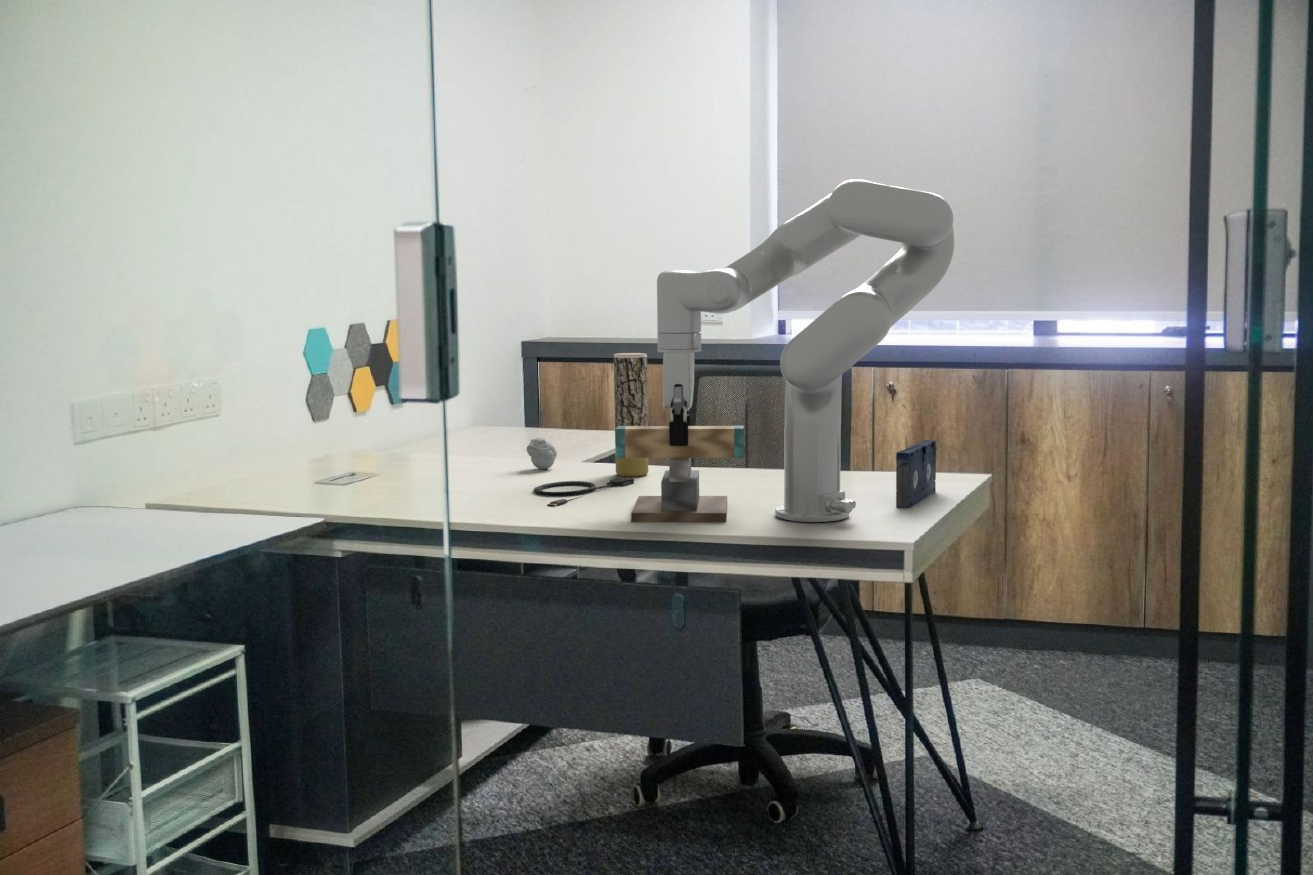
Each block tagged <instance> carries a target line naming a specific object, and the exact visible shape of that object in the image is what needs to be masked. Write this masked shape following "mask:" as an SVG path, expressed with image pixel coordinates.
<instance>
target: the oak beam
mask: <svg viewBox="0 0 1313 875" xmlns="http://www.w3.org/2000/svg"><path fill="white" fill-rule="evenodd" d="M744 429H745V428H744V425H691V426H688V445H687V446H670V445H669V425H648V426H617V428H616V457H615V459H616V458H648V459H664V458H665V459H668V458H669V459H670V458H691V459H694V458H695V459H696V458H697V459H699V458H700V459H701V458H703V459H711V458H712V459H714V458H715V459H716V458H717V459H719V458H720V459H723V458H724V459H725V458H726V459H731V458H732V459H733V458H734V459H744V457H745V455H744V454H745V446H744V445H745V444H744V443H745V439H744V437H745V436H744V434H745V430H744Z"/></svg>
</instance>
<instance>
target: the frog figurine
mask: <svg viewBox="0 0 1313 875" xmlns="http://www.w3.org/2000/svg"><path fill="white" fill-rule="evenodd" d="M556 447H557V446H555V445H554V444H553V443H551V442H549V441H548V440H546V438H544V437H543V436H542V437H541V436H539V437H535V438H531V439H530V442H529V443H528V445H527V446H526V452H527V454H528V455H529V457H530V462H531V463H532V464H533V466H534V467H535V468H537V469H539V470H548V469H550V468H552V466H553V465H554V462H555V461H556V459H557V457H558V455H557V454H558V451H557V449H556Z"/></svg>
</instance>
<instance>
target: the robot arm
mask: <svg viewBox="0 0 1313 875" xmlns="http://www.w3.org/2000/svg"><path fill="white" fill-rule="evenodd" d="M953 225H954V213H953V210H952V208H951V204H950V203H948V201H947V200H946V199H944V198H943V197H942V195H938V194H936V193H933V192H930V191H929V192H928V191H925V190H918V189H912V188H906V187H900V186H895V185H888V184H883V183H877V182H873V181H869V180H865V179H858V178H857V179H856V178H855V179H854V178H852V179H848V180H844V181H843V182H842V183H840V184H838V185H837V186H836V187H835V188H834V190H832V192H831V193H830V194H828V195H827V196H825V197H823V198H822V199H820V200H819V201H818V202H817V201H816V202H815V203H814V204H813V205H810V207H808V208H806V209H804V210H803V211H801V212H800V213H798V214H796V215H795V216H793V217H792V218H790V219H788V220H786V221H784V222H783V223H782V224H780V225H779V226H778V227H777V228H776V229H774V230H773V231H772V233H771V234H770V235H769V236H768V237H767V238H766V239H765V240H764V241H763V242H761V244H759V245H758V246H757V247H755V248H754V249H752V250H751V251H750V252H748V253H746V254H745V255H743V256H742V257H740V258H738V259H737V260H735V261H734V262H732V263H730V264H728V265H726V266H725V267H724V268H717V269H711V270H710V269H709V270H705V271H704V270H703V271H694V270H665V271H661V272H659V274H658V275H657V279H656V311H657V312H656V313H657V314H656V316H657V317H656V320H657V323H656V325H657V326H656V328H657V329H656V331H657V333H656V334H657V335H656V336H657V338H656V339H657V353H663V357H662V359H663V360H662V409H663V410H665V411H667V410H668V409H669V408H670V411H669V412H670V413H669V414H670V415H669V419H670V420H669V422H668V426H669V445H670V446H687V445H688V426H692V425H691V422H692V421H691V418H692V417H691V415H690V409H691V408H692V406H693V402H694V391H695V389H694V388H695V353H700V352H702V312H703V313H711V314H718V315H724V314H729V313H732V312H736V311H738V310H739V309H741V308H743V307H744V306H746V305H747V304H750V303H751V302H752V301H754V300H756V299H757V298H759V297H761V296H762V295H764V294H766V293H767V292H769V291H771V289H774V288H775V287H777V286H778V285H780V284H781V283H783V282H785V281H786V280H788V279H790V278H793V277H794V276H797V275H799V274H801V273H802V272H805V271H806V270H807V269H809V268H810V267H812V266H814V265H815V264H817V263H819V262H820V261H822V260H824V259H825V258H826V257H829V256H830V255H832V254H833V253H834V252H836V251H837V250H839V249H841V248H842V247H844V246H846V245H848V244H849V243H852V241H855V240H856V239H858V238H859V237H861V236H864V237H870V238H876V239H881V240H885V241H890V242H891V241H892V242H897V243H902V244H901V246H900V249H898V251H897V252H896V253H895V254H894V255H893V257H891V258H890V259H889V260H888V261H886V262H885V263H884V264H883V265H882V266H881V267H880V268H879V269H878V270H877V271H876V272H875V273H873V274H872V275H871V276H870V277H869V278H867V279H866V280H865V281H864V282H862V283H861V284H860V285H859V286H857V287H856V288H855V289H852V290H850V291H848V292H847V293H845V294H844V295H842V296H841V297H840V298H838V299H837V300H836V301H835V302H834V303H832V305H830V306H829V307H828V308H826V310H825V311H824V312H821V314H820V315H818V317H817V318H815V319H814V320H813V321H812V322H811V323H809V325H807V326H806V327H805V328H804V329H803V330H801V331H800V332H799V333H798V334H796V336H794V337H793V338H792V339H791V340H790V341H788V342H787V344H786V345H785V346H784V348H783V350H782V351H781V355H780V358H779V359H780V361H779V367H780V372H781V375H782V378H784V381H785V382H784V383H785V385H784V387H785V388H784V441H783V442H784V445H783V446H784V452H783V453H784V454H783V455H784V456H783V457H784V458H783V459H784V460H783V461H784V463H783V464H784V466H783V467H784V468H783V469H784V470H783V471H784V472H783V478H784V479H783V480H784V481H783V482H784V483H783V484H784V488H783V489H784V491H783V494H784V496H783V500H784V501H783V504H781V505H778V506H776V508H775V510H774V516H776V517H777V518H779V519H782V520H785V521H791V522H800V523H803V522H804V523H825V522H826V523H827V522H838V521H842V520H845V519H847V518H849V516H850V514H851V513H852V511H853V510H854V509H855V508H856V507H857V506H856V505H857V504H856V503H857V502H856V501H855V500H852V499H846V491H845V490H841V452H842V451H841V448H842V447H841V444H842V443H841V442H842V441H841V436H842V431H841V430H842V390H843V389H842V388H843V387H842V386H843V384H842V382H843V374H844V373H846V372H847V371H848V370H849V369H850V368H852V367H853V366H854V365H855V364H857V362H859V361H860V360H861V359H862V358H863V357H864V356H865V355H867V354H869V353H870V352H871V351H872V350H873V349H874V348H875V347H876V346H877V345H879V344H880V343H881V342H882V341H883V340H884V339H885V338H886V336H887V335H888V333H889V331H890V330H891V328H892V327H893V326H894V325H895V324H896V323H897V322H899V321H900V320H901V319H902V318H903V317H904V316H905V315H907V314H908V313H909V312H910V311H911V310H912V309H913V308H914V307H915V306H916V305H918V304H919V303H920V302H921V301H922V300H923V299H925V297H927V296H928V295H929V294H930V293H931V292H932V291H933V290H934V289H935V288H936V287H937V286H938V284H939V283H940V282H942V280H943V278H944V277H945V275H946V273H947V272H948V269H949V267H950V264H951V262H952V259H953V257H954V256H953V255H954V250H955V235H954V234H955V233H954V226H953Z"/></svg>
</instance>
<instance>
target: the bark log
mask: <svg viewBox="0 0 1313 875" xmlns="http://www.w3.org/2000/svg"><path fill="white" fill-rule="evenodd" d="M613 374H614V375H613V388H614V390H613V391H614V395H613V396H614V398H613V400H614V446H615V447H614V448H615V449H614V451H615V457H614V458H615V474H616V475H617V476H618V477H619V476H620V477H623V478H637V477H643V476H646V475H648V473H649V458H616V428H617V426H649V414H648V413H649V409H648V408H649V407H648V402H649V401H648V354H647V353H646V352H645V353H644V352H643V353H642V352H620V353H618V352H617V353H614V354H613Z"/></svg>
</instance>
